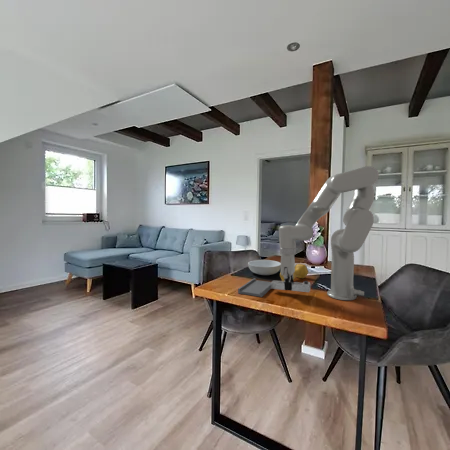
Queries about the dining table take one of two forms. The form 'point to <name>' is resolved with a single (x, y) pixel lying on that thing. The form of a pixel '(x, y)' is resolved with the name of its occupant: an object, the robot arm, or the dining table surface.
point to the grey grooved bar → (295, 286)
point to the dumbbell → (298, 272)
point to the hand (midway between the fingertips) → (289, 288)
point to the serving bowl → (264, 267)
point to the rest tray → (255, 288)
